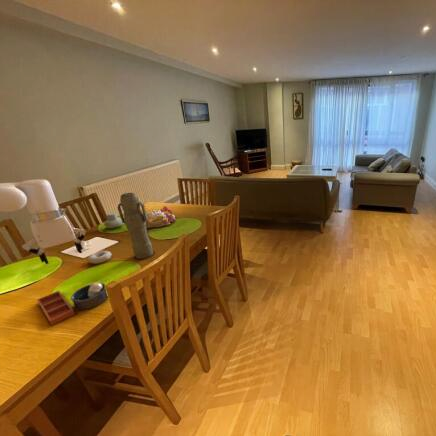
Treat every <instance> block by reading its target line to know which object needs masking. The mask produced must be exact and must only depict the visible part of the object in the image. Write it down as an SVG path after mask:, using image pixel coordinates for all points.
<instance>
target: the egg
mask: <svg viewBox="0 0 436 436" xmlns="http://www.w3.org/2000/svg"><path fill="white" fill-rule="evenodd" d="M101 283H102V282H94V283H91V284H92V285H91V286H90V288H89V291H88V297H89V298H92V297H94V296H96V295H98V294H99V293H101V292H102V289H103V285H102V284H101Z"/></svg>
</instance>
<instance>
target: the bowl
mask: <svg viewBox="0 0 436 436" xmlns="http://www.w3.org/2000/svg"><path fill="white" fill-rule="evenodd" d="M100 283H101V284H102V285H103V289H102V292H101V293H99V294H98V295H96V296H94V297H92V298H89V297H88V291H89V288H90V286H91V285H92V284H93V283H91V284H87V285H85V286H82V287H81V288H79V289H77V290H75V292H73V293H72V295H71V297H70V300H71V302H72V304H73V306H74V308H75V309H76V310H88V309H91V308H94V307H97V306H98V305H100V304H102V303H103V302H105V301H106V300H107V299H108V298H109V296H107V293H106V289H105V286H106V287H107V285H106V283H103V282H100Z"/></svg>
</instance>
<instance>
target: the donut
mask: <svg viewBox="0 0 436 436" xmlns="http://www.w3.org/2000/svg"><path fill="white" fill-rule="evenodd" d="M112 256H113V255H112V252H111V251H109V250H100V251H98V252H96V253H94V254H92V255H90V256H88V258H87V261H88V263H90V264H94V265H95V264H96V265H97V264H102V263H105V262H106V261H109V260H110V259H111V258H112Z"/></svg>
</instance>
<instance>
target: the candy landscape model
mask: <svg viewBox="0 0 436 436" xmlns="http://www.w3.org/2000/svg"><path fill="white" fill-rule="evenodd" d="M165 212H167V213H165ZM168 213H169V214H168ZM146 215H147V218H148V219H147V220H146V221H145V222H146V229H150V228H158V227H159V228H160V227H164V226H167V225H171V223H170V222H172V224H174V222H176V221H177V219H176V216H175V215H174V212H173V211H172V209H171V208H170V207H169V206H167V205H164V206H163V207H162V208H161V209H158V210H155V209H152V210H149V211H148V212H146Z"/></svg>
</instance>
